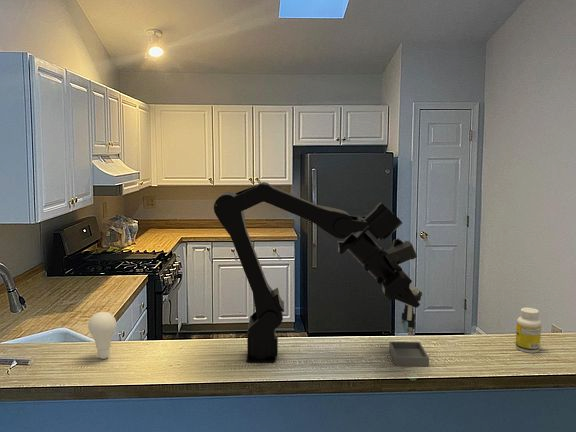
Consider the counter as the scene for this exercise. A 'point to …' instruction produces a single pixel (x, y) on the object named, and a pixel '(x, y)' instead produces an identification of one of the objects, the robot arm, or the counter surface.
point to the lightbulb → (102, 332)
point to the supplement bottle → (528, 331)
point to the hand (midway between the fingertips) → (415, 302)
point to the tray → (408, 354)
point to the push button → (410, 312)
